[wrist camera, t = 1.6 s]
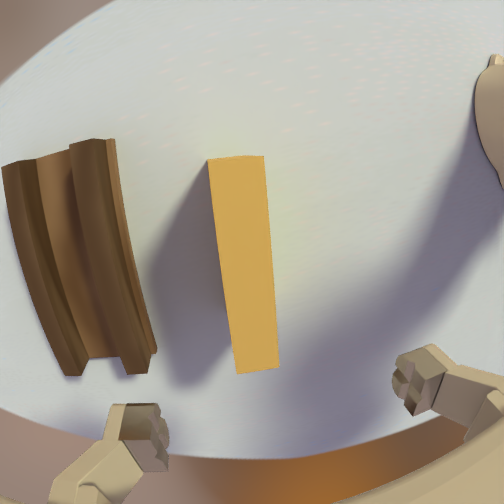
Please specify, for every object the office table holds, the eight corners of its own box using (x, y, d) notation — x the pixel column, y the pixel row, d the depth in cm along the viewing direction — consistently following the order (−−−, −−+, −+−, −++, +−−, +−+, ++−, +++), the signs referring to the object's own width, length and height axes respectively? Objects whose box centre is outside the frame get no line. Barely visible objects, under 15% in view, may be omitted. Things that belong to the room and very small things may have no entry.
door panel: (243, 155, 24) (263, 156, 16) (258, 307, 29) (279, 367, 20) (207, 159, 24) (207, 161, 16) (227, 312, 29) (236, 374, 20)
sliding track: (114, 139, 22) (99, 136, 18) (157, 347, 29) (152, 372, 25) (21, 165, 21) (-3, 168, 17) (72, 353, 28) (60, 375, 24)
